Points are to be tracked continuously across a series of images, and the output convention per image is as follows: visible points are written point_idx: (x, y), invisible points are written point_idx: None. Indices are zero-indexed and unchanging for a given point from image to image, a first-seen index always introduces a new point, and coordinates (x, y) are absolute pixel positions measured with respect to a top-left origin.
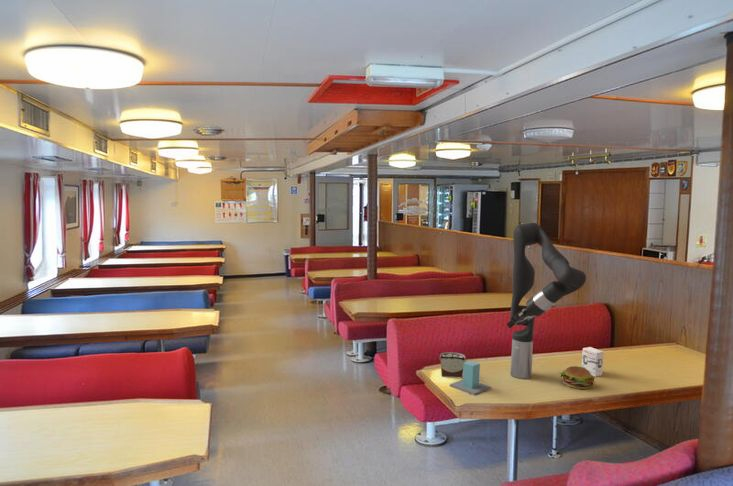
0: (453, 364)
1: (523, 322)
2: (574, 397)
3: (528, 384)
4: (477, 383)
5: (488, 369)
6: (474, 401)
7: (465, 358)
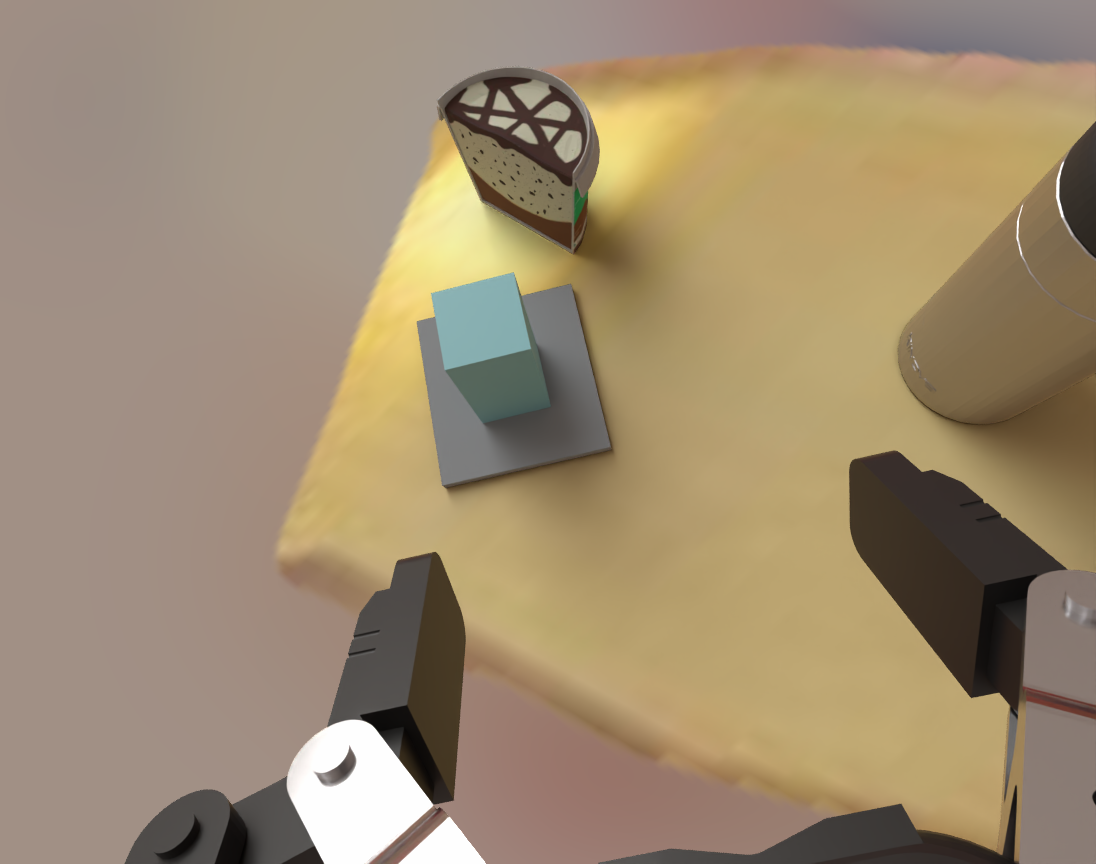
0: (519, 178)
1: (904, 603)
2: None
3: None
4: (533, 403)
5: (826, 205)
6: (381, 558)
7: (576, 183)
